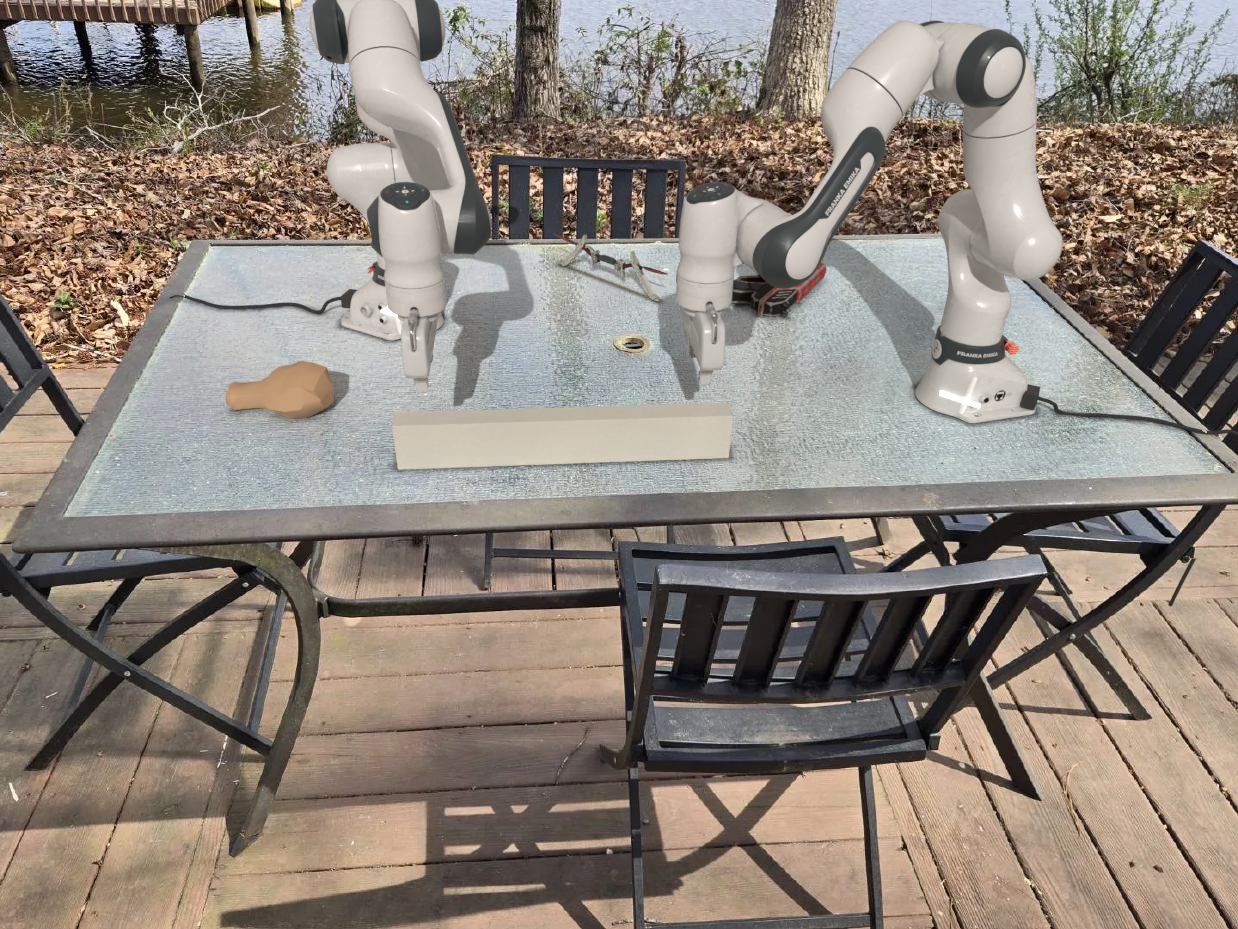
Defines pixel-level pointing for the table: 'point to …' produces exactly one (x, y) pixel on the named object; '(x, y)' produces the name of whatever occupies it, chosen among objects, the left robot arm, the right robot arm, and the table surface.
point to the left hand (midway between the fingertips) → (425, 375)
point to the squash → (286, 391)
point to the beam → (561, 435)
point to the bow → (618, 264)
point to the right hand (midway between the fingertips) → (699, 369)
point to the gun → (772, 293)
